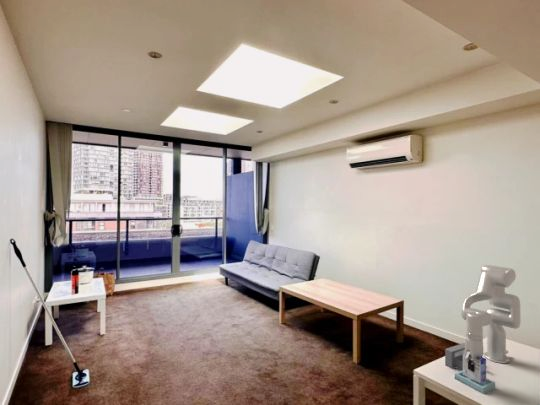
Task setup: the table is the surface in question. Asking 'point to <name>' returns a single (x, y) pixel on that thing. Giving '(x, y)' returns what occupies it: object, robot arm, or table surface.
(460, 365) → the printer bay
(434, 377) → the table surface
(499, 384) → the table surface
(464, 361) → the ink cartridge box
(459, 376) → the tray
